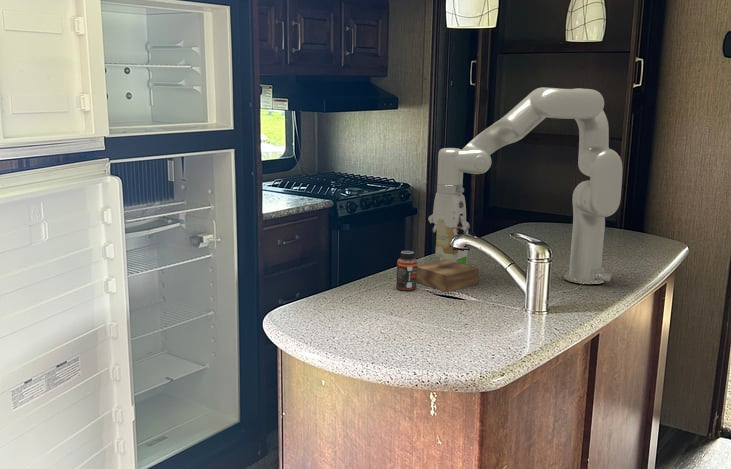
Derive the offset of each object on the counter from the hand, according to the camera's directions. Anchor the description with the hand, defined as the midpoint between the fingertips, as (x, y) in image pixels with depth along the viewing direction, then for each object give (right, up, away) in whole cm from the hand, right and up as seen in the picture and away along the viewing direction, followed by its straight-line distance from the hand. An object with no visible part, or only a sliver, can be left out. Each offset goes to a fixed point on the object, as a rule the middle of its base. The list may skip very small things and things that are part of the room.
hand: (447, 246), depth 220 cm
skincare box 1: (0, -3, +1) cm, 4 cm away
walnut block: (0, -11, +3) cm, 11 cm away
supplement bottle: (-13, -13, -4) cm, 19 cm away
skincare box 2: (+4, -8, +19) cm, 21 cm away
